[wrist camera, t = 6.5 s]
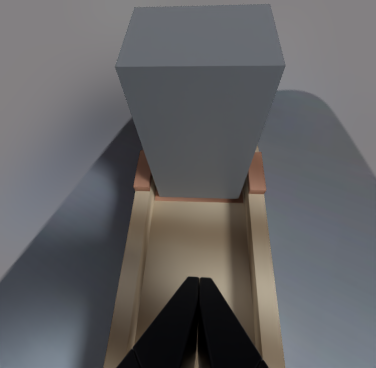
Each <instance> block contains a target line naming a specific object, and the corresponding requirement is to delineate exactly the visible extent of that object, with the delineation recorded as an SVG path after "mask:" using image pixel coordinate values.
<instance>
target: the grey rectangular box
mask: <svg viewBox="0 0 376 368" xmlns="http://www.w3.org/2000/svg"><path fill="white" fill-rule="evenodd" d="M115 68H116V71H117V74H118V77H119V80H120V83H121V86H122V88H123V92H124V94H125V97H126V100H127V103H128V106H129V109H130V112H131V115H132V118H133V121H134V124H135V126H136V129H137V132H138V135H139V138H140V141H141V144H142V147H143V150H144V153H145V156H146V159H147V161H148V164H149V167H150V170H151V173H152V176H153V179H154V182H155V185H156V188H157V191H158V194H159V196H160V197H184V198H221V199H239V196H240V193H241V190H242V188H243V185H244V182H245V179H246V176H247V173H248V171H249V168H250V165H251V162H252V159H253V156H254V154H255V151H256V148H257V145H258V142H259V139H260V136H261V134H262V131H263V128H264V125H265V122H266V119H267V117H268V114H269V111H270V108H271V105H272V102H273V100H274V97H275V94H276V91H277V88H278V85H279V83H280V80H281V77H282V74H283V71H284V68H285V62H284V58H283V54H282V50H281V46H280V42H279V38H278V34H277V30H276V26H275V22H274V18H273V14H272V10H271V6H270V4H261V5H217V6H174V7H135V8H134V11H133V14H132V17H131V20H130V23H129V26H128V29H127V32H126V35H125V38H124V41H123V44H122V47H121V50H120V53H119V57H118V59H117V63H116V66H115Z"/></svg>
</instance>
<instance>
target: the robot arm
mask: <svg viewBox="0 0 376 368" xmlns="http://www.w3.org/2000/svg"><path fill="white" fill-rule="evenodd" d="M197 335H198V339H197ZM196 352H197V353H198V368H269V367H268V366H267V364H266V362H265V361H264V360H262V356H261V355H260V353H259V352H258V350H257V349H256V347H255V345H254V344H253V342H252V341H251V339H250V338H249V336H248V334H247V333H246V331H245V330H244V328H243V327H242V325H241V323H240V322H239V320H238V319H237V317H236V316H235V314H234V312H233V311H232V309H231V308H230V306H229V305H228V303H227V301H226V300H225V298H224V297H223V295H222V294H221V292H220V291H219V289H218V287H217V286H216V284H215V283H214V281H213V280H212V278H209V277H201V278H200V280H199V277H192V276H188V277H187V278H186V279H185V281H184V282H183V283H182V284H181V286H180V287H179V288H178V290H177V291H176V292H175V293H174V295H173V296H172V297H171V299H170V300H169V301H168V302H167V304H166V305H165V306H164V307H163V309H162V310H161V311H160V313H159V314H158V315H157V316H156V318H155V319H154V320H153V322H152V323H151V324H150V325H149V327H148V328H147V329H146V331H145V332H144V333H143V334H142V336H141V337H140V338H139V339H138V341H137V342H136V343H135V345H134V346H133V348H132V349H131V350H130V351H129V352H128V353H127V355H126V356H125V357H124V359H123V360H122V361H121V362H120V363H119V365H118V366H117V367H116V368H194V366H195V359H196Z"/></svg>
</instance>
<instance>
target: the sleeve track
mask: <svg viewBox="0 0 376 368" xmlns="http://www.w3.org/2000/svg"><path fill="white" fill-rule="evenodd" d="M133 187H134V189H135V197H134V202H133V208H132V213H131V219H130V224H129V230H128V235H127V241H126V246H125V252H124V257H123V263H122V268H121V274H120V279H119V285H118V290H117V296H116V301H115V307H114V312H113V318H112V323H111V329H110V334H109V340H108V345H107V351H106V356H105V362H104V367H103V368H116V367H117V366H118V365H119V363H120V362H121V361H122V360H123V359H124V357H125V356H126V355H127V353H128V352H129V351H130V350H131V349H132V348H133V346H134V345H135V343H136V342H137V341H138V339H139V338H140V337H141V336H142V334H143V333H144V332H145V331H146V329H147V328H148V327H149V325H150V324H151V323H152V322H153V320H154V319H155V318H156V316H157V315H158V314H159V313H160V311H161V310H162V309H163V307H164V306H165V305H166V304H167V302H168V301H169V300H170V299H171V297H172V296H173V295H174V293H175V292H176V291H177V290H178V288H179V287H180V286H181V284H182V283H183V282H184V281H185V279H186V278H187V277H188V276H192V277H199V280H200V278H201V277H209V278H212V280H213V281H214V283H215V284H216V286H217V287H218V289H219V291H220V292H221V294H222V295H223V297H224V298H225V300H226V301H227V303H228V305H229V306H230V308H231V309H232V311H233V312H234V314H235V316H236V317H237V319H238V320H239V322H240V323H241V325H242V327H243V328H244V330H245V331H246V333H247V334H248V336H249V338H250V339H251V341H252V342H253V344H254V345H255V347H256V349H257V350H258V352H259V353H260V355H261V356H262V360H264V361H265V362H266V364H267V366H268V367H269V368H285V361H284V353H283V345H282V337H281V329H280V321H279V313H278V305H277V297H276V289H275V280H274V272H273V264H272V256H271V248H270V240H269V232H268V224H267V216H266V208H265V199H264V193H265V191H266V185H265V177H264V169H263V162H262V154H261V152H259V151H258V145H257V148H256V151H255V154H254V156H253V159H252V162H251V165H250V168H249V171H248V173H247V176H246V179H245V182H244V185H243V188H242V190H241V193H240V196H239V199H221V198H184V197H160V196H159V194H158V191H157V188H156V185H155V182H154V179H153V176H152V173H151V170H150V167H149V164H148V161H147V159H146V156H145V153H144V150H140V154H139V159H138V165H137V170H136V175H135V180H134V186H133ZM197 339H198V335H197ZM194 368H198V353H197V352H196V359H195V366H194Z"/></svg>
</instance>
